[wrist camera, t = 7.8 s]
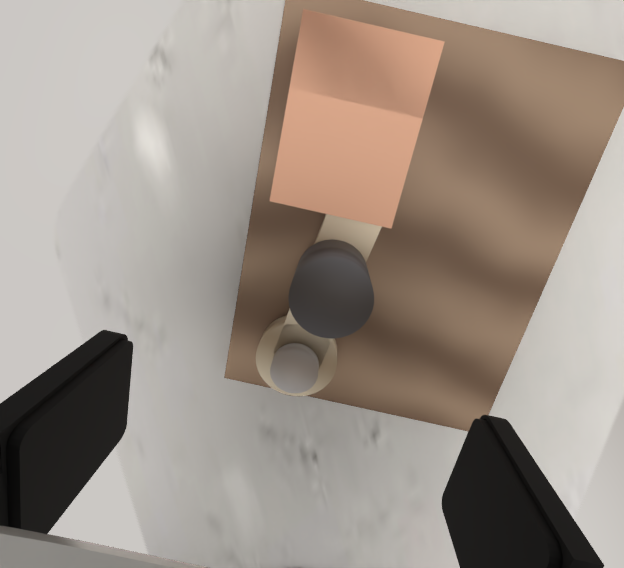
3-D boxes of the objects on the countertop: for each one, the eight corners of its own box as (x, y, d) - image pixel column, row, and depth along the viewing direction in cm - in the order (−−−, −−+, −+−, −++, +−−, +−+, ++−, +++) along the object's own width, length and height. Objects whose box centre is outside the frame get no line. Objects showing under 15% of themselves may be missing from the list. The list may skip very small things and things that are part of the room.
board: (472, 419, 28) (497, 468, 24) (230, 366, 28) (210, 405, 24) (621, 71, 21) (696, 49, 16) (291, -6, 21) (279, -48, 16)
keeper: (382, 215, 23) (391, 228, 19) (280, 192, 22) (269, 201, 19) (424, 62, 20) (444, 41, 16) (309, 35, 20) (303, 8, 16)
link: (320, 392, 26) (316, 452, 21) (250, 367, 26) (228, 422, 21) (414, 185, 22) (438, 197, 16) (329, 152, 21) (327, 153, 16)
